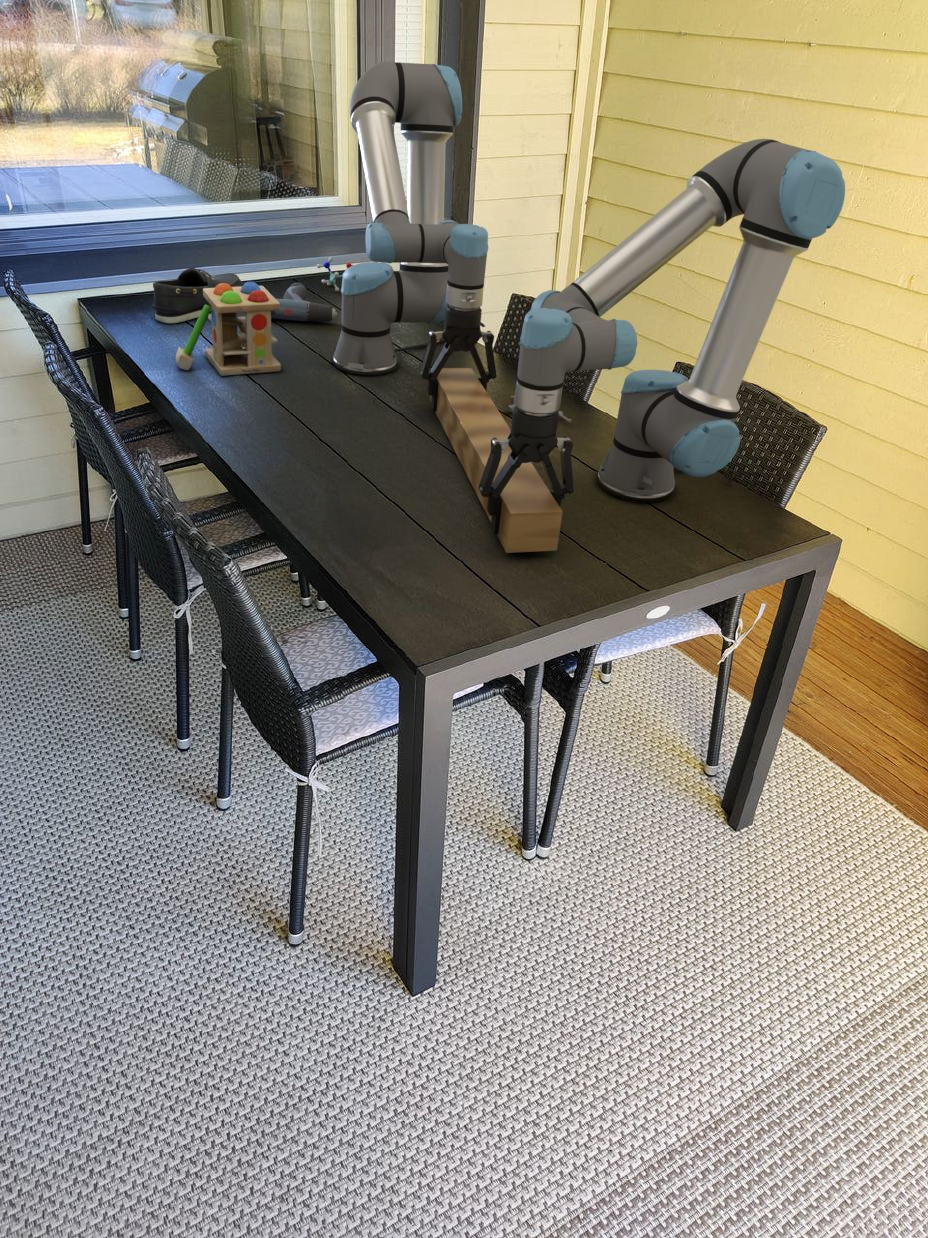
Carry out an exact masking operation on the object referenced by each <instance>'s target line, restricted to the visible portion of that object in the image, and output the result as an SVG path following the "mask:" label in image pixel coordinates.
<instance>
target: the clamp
mask: <svg viewBox="0 0 928 1238" xmlns="http://www.w3.org/2000/svg"><path fill="white" fill-rule="evenodd" d="M514 397H515V394H514V395H510V398H509V404H508V405H507V407H506V409H507V411H508V412H510V413H511V412H512V413H513V408H514V407H515V406H516V405H515V404H514ZM558 412H559V418H561V419H563V420H565V421H567V423H568V424H571V423H572V419H571V418H568V417H567V416H565V415H564V412H563V411H561V410H558Z"/></svg>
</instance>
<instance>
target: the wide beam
mask: <svg viewBox="0 0 928 1238" xmlns="http://www.w3.org/2000/svg"><path fill="white" fill-rule="evenodd" d="M478 378H479V377H478V376H477V375H476V373H475V372H474V370H473V368H472V367H446V368H445V367H443V368H442V370H441V372H440V373H439V375H438V377H437V378H436V379H437V381H438V383H439V384H438V399H437V412H434V413H435V415H436V417H437V418H438V421H439V423H440V425H441V426H442V429H443V430H444V433H445V435H446V436H447V438H448V441H449V443H450V444H451V446H452V448H453V450H454V453H455V454H456V456H457V459H458V460H459V462H460V464H461V466H462V468H463V470H464V472H465V474H466V476H467V478H468V481H469V483H470V485H471V486H472V488H473V490H474V492H475V494H476V496H477V498H478V500H479V502H480V504H481V506H482V508H483V510H484V511H485V514H486V516H487V518H488V520H489V522H490V523H491V517H492V516H490V515H489V513H488V511H487V505H488V497H483V496H482V495H481V493H480V491H479V489H478V487H479V484H480V481H481V478H482V475H483V472H484V469H485V466H486V463H487V461H488V458H489V455H490V452H491V439H492V438H494V437H495V438H497V439H498V440H500V439H507V438H508V436H509V435H510V432H511V427H509V424H508V423H507V422H506V420H505V419H504V417H503V416H502V414H501V412H500V411H499V409H498V408H497V406H496V405H495V403H494V401H493V400H492V399H491V397H490V395H489V394H488V392H487V390H486V391H485V389H484V387H483V386H482V384H481V383H480V381H479V380H478ZM431 397H432V396H429V402H430V404H431ZM511 451H512V450H511V448H510V447H509V446H508V447H506V449H505V451H504V453H502V454H501V460H500V463H499V466H498V469H497V471H496V474H495V477H494V480H495V478H496V477H497V475H498V474H499V472H500V470H501V469H502V467H503V466H504V464H505V463H506V461H507V459H508V455H509V454H510V452H511ZM538 472H539V471H538V470H537V469H536V467H535V466H534V464H533V462H529V463H522V464H521V466H520V467H519V468H517V469H516V471H515V472H514V474H513V476H512V477H511V479H510V480H509V482H508V483H507V485H506V486H505V488H504V490H503V491H502V493H501V494H500V498H501V500H502V506H501V515H500V524H499V533H498V534H496V536H497V538H498V539H499V541H500V544H501V546H502V548H503V549H504V551H505V553H506V554H510V553H514V554H515V553H531V552H532V553H533V552H552V551H554V552H555V551H558V546H559V545H558V544H559V538H560V531H561V525H562V519H563V510H562V507H559V505H558V504H557V502H556V501H555V499H554V497H553V496H552V494H551V493H550V492H551V491H550V490H549V488H548V486H547V485H546V483H545V481H544V480H543V478H542V477H541V475H540V474H539V473H538ZM494 480H493V481H494Z"/></svg>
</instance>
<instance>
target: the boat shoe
mask: <svg viewBox="0 0 928 1238" xmlns="http://www.w3.org/2000/svg"><path fill="white" fill-rule="evenodd" d="M221 283H226V284H228V285H230V286H231V287H242V286H243V281H242V280H241V279H240V277H239V276H238V275H237V274H235V273H231V272H230V273H228V272H227V273H223V274H217V275H213V276H212V275H211V274H210V273H209V272H207V271H205V270H204V269H199V268H195V267H189V268H187V269H184V270H183V271H182V272H180V274H179V275H178V276H177V278H176V279H170V280H169V279H168V280H156V281H153V282H152V289H153V304H152V308H154V310H155V311H154V317H155V320H156V321H159V322H160V323H164V324H176V323H177V324H178V323H183V322H186V321H190V320H193V319H198V318H199V316H200V314H201V311H202V309H203V307H204V305H208V306H210V307H211V305H210V304H209V302H208V301H207V300H206V299H205V297H204V296H203V289H204V288H215V287H216V286H217V285H218V284H221ZM210 312H211V310H210Z"/></svg>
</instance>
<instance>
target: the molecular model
mask: <svg viewBox="0 0 928 1238" xmlns="http://www.w3.org/2000/svg"><path fill="white" fill-rule="evenodd" d="M333 260H334V258H333V257H332V256H330V257H328V261H325V262H324V264H320V263H317V264H316V268H317V269H320V268H325V269H327V270H328V272H329V274H330V275H329V279H321V283H322V284H327V286H329V287H330V286H332V285H333V287H334V291H335V292H337V293H338V292H339V291H340V287H339V286H337V284H336V283H337V282H336V279H339V278H340V279H341V278H343V274H344V272H343V273H342V274H341V275H339V274H340V273H339V272H338V271H336V272H334V273H333V272H332V270H331V264H330V263H332V262H333ZM353 265H354V264H352V263H351V262H347V263H346V264H345V266H346V269H348V268H349V267H351V266H353Z"/></svg>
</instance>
